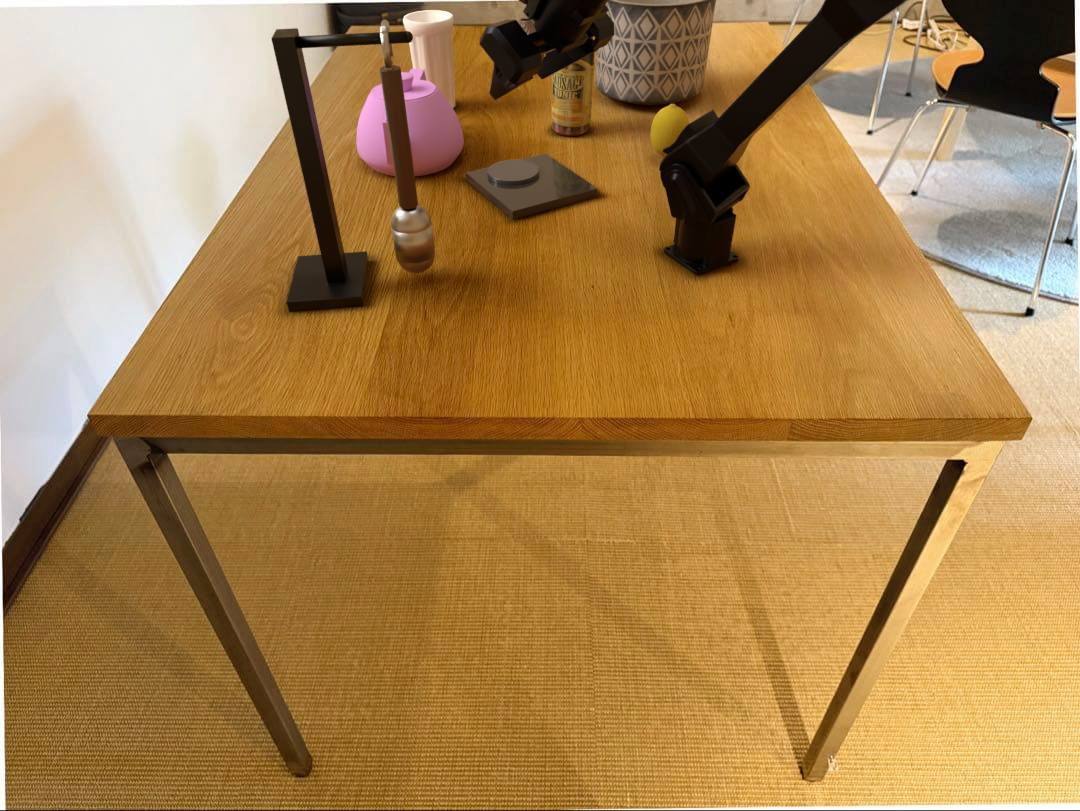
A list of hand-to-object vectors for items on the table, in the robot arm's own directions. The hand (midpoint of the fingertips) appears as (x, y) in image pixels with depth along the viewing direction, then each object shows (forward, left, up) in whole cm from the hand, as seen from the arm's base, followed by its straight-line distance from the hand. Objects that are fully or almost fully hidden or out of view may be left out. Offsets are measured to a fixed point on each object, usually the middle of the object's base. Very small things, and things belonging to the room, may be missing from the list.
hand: (517, 86), depth 93 cm
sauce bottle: (+17, -18, -15) cm, 29 cm away
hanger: (-10, +25, -15) cm, 31 cm away
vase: (+48, -27, -15) cm, 57 cm away
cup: (+38, -4, -15) cm, 41 cm away
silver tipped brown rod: (-12, +20, -14) cm, 27 cm away
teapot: (+20, +8, -15) cm, 26 cm away
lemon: (0, -24, -15) cm, 29 cm away
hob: (+2, -2, -15) cm, 15 cm away
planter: (+24, -38, -15) cm, 48 cm away
